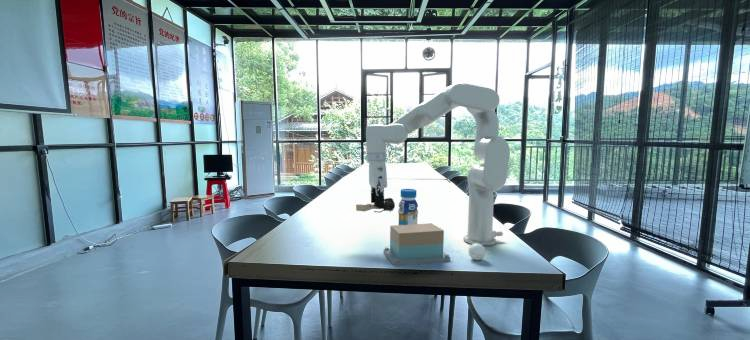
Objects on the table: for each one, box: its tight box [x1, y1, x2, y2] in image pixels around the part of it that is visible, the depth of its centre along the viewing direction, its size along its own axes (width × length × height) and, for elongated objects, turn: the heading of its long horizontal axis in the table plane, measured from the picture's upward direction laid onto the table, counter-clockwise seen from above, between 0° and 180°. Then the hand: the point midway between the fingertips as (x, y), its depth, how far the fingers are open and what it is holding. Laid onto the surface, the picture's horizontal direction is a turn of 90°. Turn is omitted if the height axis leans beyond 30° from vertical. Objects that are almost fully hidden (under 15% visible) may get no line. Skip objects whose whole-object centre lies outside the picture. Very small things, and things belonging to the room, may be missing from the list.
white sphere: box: [468, 243, 491, 261], centre depth 110 cm, size 8×6×6 cm
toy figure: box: [355, 197, 396, 213], centre depth 125 cm, size 7×6×15 cm
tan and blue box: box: [383, 223, 451, 267], centre depth 113 cm, size 20×13×10 cm, turn 104°
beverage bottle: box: [397, 188, 419, 225], centre depth 138 cm, size 8×8×20 cm
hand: (377, 203), depth 124 cm, fingers closed on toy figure, 6 cm apart
